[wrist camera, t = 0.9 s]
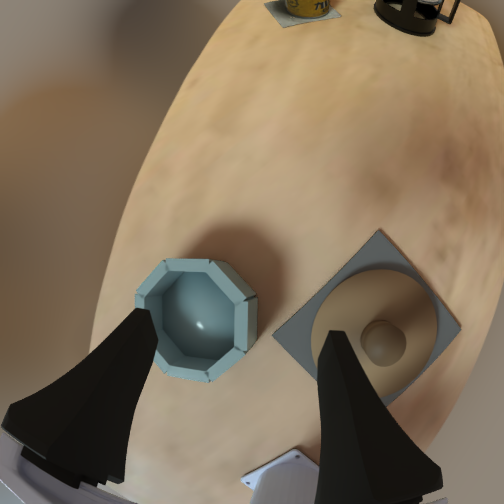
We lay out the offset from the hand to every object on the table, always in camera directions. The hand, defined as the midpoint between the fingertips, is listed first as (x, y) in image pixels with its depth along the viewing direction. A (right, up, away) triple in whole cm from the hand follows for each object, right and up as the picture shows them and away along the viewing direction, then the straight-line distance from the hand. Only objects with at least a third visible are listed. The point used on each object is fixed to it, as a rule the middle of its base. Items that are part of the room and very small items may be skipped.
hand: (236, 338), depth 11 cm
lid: (+11, -4, +11) cm, 16 cm away
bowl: (-4, -2, +14) cm, 15 cm away
